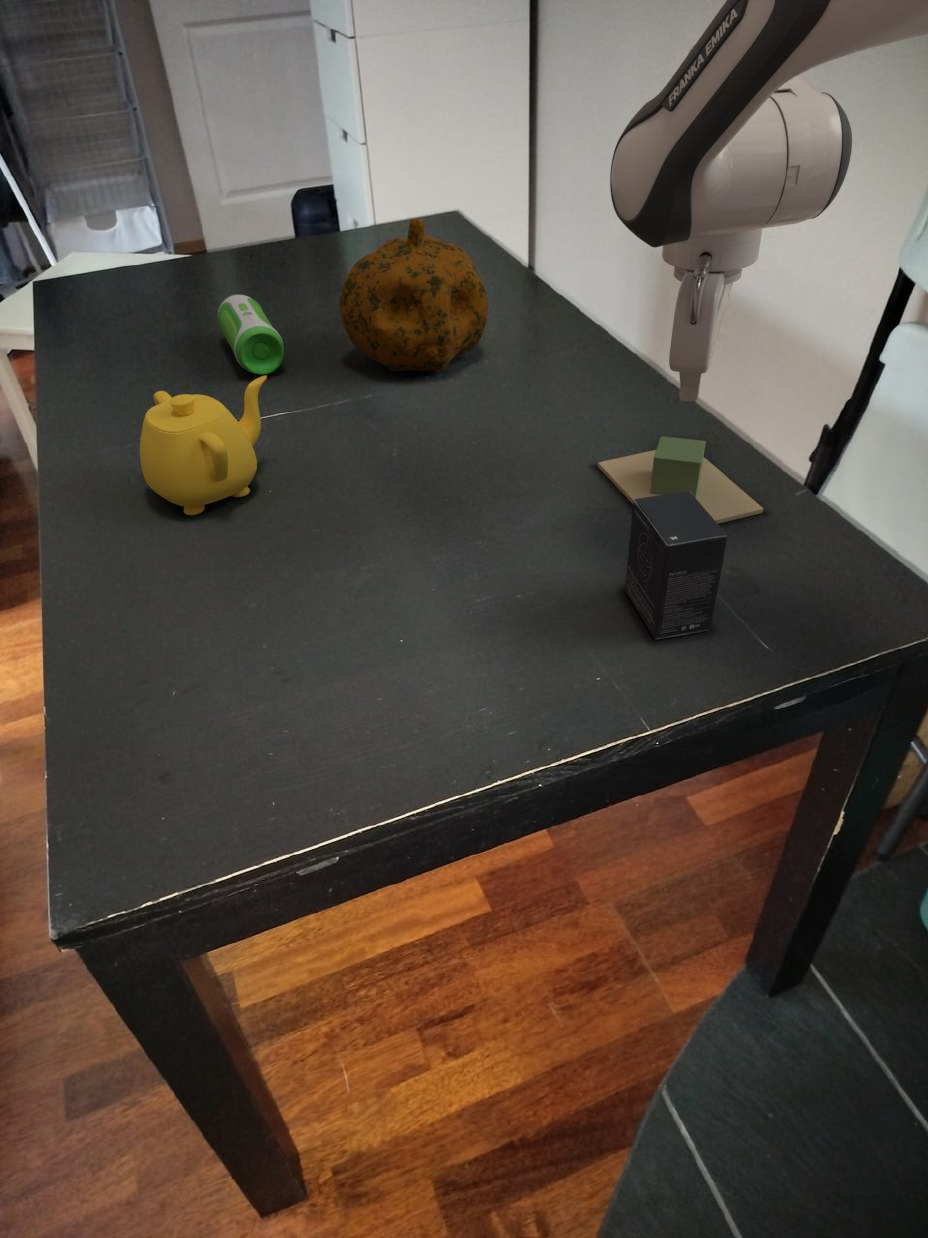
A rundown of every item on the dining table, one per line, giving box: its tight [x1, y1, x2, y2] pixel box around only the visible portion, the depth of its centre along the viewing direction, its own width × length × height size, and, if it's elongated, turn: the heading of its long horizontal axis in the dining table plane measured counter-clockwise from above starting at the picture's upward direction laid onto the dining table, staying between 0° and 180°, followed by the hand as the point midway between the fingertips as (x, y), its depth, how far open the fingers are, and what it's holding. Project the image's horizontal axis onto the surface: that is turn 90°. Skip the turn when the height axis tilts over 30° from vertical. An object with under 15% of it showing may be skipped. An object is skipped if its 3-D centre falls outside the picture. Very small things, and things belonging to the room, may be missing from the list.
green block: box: [650, 435, 707, 498], centre depth 96 cm, size 5×5×4 cm
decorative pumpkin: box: [338, 218, 489, 372], centre depth 123 cm, size 20×21×20 cm
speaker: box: [216, 294, 285, 376], centre depth 130 cm, size 18×7×8 cm, turn 23°
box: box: [624, 491, 729, 640], centre depth 78 cm, size 8×6×11 cm
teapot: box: [139, 375, 268, 516], centre depth 98 cm, size 14×14×12 cm
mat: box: [597, 449, 764, 525], centre depth 97 cm, size 16×12×1 cm
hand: (694, 378), depth 89 cm, fingers open, 8 cm apart
